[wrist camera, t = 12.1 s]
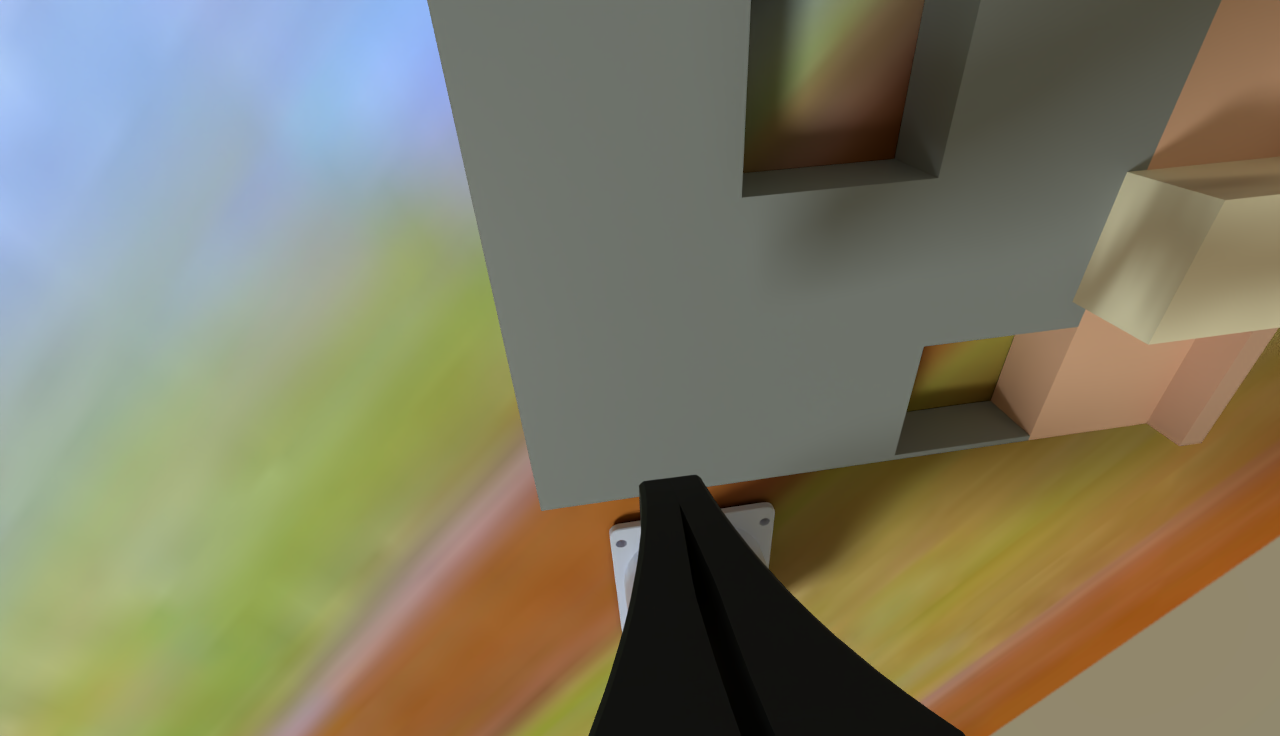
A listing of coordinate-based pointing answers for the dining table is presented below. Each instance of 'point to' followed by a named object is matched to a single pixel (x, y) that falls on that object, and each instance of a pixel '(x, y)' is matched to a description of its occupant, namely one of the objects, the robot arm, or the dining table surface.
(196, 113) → the dining table surface
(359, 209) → the dining table surface
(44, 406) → the dining table surface
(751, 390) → the board
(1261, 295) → the beech block
